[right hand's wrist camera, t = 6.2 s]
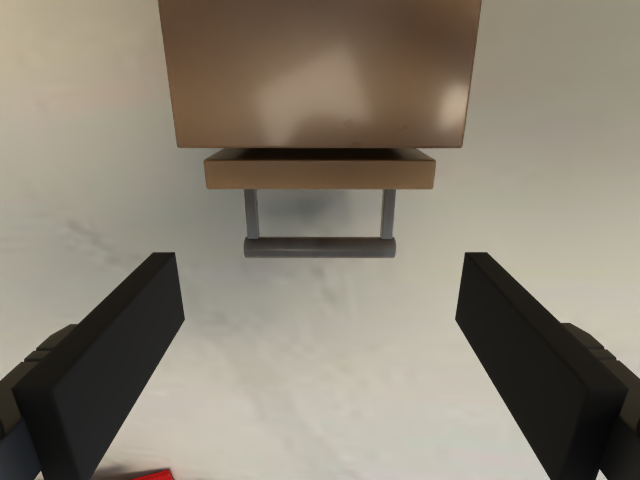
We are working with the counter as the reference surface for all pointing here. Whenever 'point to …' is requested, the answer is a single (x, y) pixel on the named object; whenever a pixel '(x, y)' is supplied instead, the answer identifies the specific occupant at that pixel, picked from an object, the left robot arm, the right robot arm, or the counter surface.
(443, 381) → the counter surface
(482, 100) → the counter surface
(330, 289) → the counter surface
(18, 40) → the counter surface
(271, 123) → the cabinet
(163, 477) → the toy
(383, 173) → the drawer
